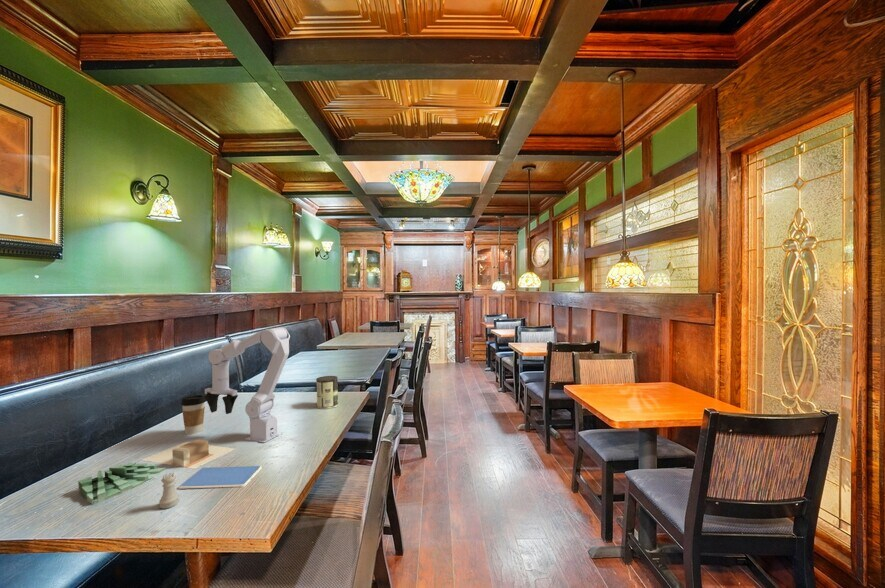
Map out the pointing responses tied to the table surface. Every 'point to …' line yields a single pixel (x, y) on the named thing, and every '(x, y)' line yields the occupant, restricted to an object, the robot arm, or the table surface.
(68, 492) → the table surface
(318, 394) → the coffee can
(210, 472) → the tablet computer
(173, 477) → the rook chess piece
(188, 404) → the coffee cup
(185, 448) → the two tone block
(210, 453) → the mat
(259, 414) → the robot arm
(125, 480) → the money
